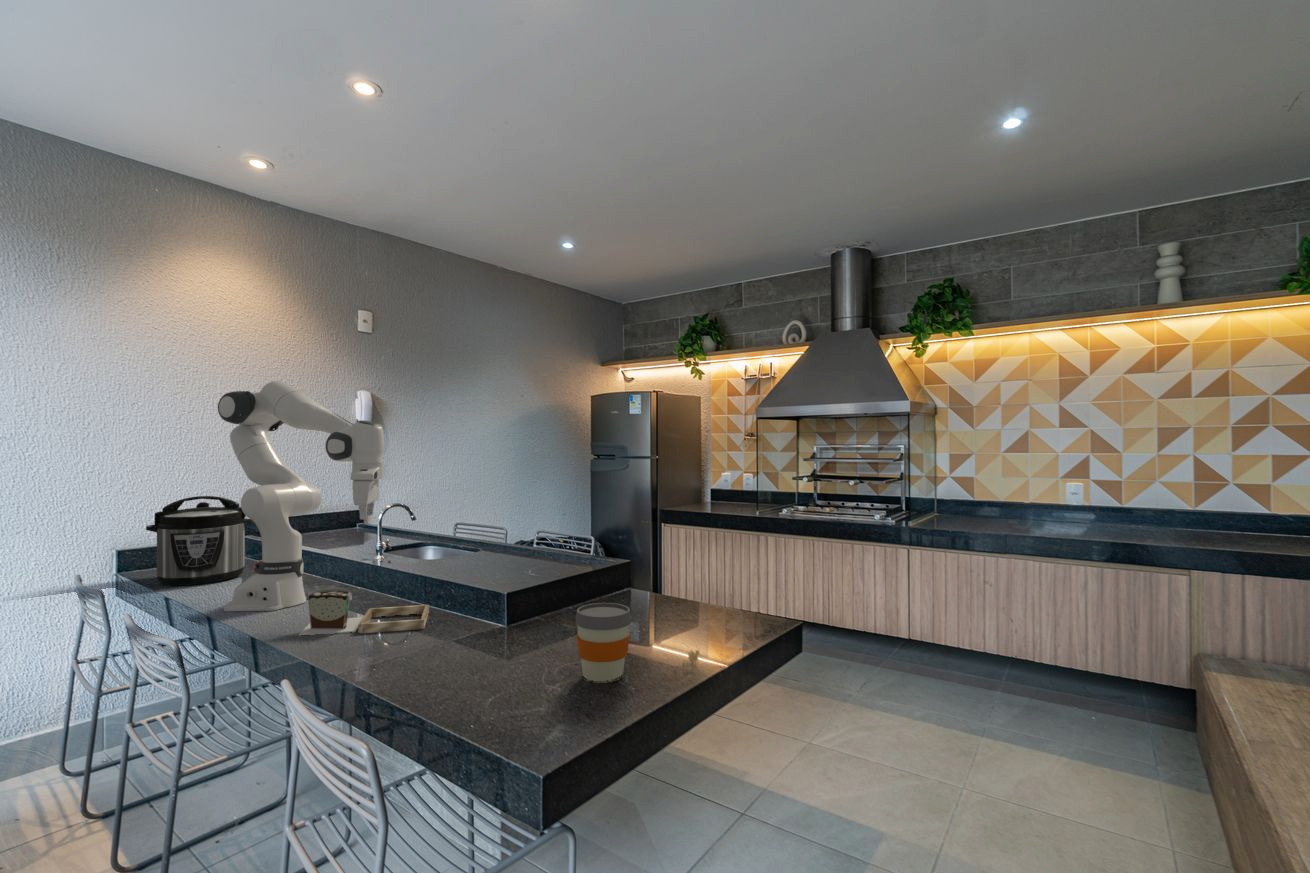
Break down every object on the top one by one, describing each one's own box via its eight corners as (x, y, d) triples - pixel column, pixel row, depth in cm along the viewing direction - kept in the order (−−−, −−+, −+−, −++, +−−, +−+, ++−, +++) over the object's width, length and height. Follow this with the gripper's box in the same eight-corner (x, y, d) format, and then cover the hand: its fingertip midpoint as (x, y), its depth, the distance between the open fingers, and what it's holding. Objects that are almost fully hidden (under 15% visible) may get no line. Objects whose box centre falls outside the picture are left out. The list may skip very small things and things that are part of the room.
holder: (358, 633, 167) (358, 624, 167) (369, 616, 183) (369, 608, 183) (424, 628, 171) (424, 620, 171) (429, 612, 188) (429, 604, 188)
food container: (360, 623, 175) (360, 588, 175) (349, 629, 169) (349, 593, 169) (318, 622, 175) (318, 587, 175) (305, 628, 169) (306, 592, 169)
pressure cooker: (129, 588, 217) (130, 499, 217) (188, 571, 245) (189, 493, 245) (214, 588, 217) (216, 499, 218) (263, 571, 246) (264, 493, 246)
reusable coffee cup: (584, 690, 129) (584, 620, 129) (568, 670, 141) (569, 605, 141) (638, 681, 134) (639, 613, 134) (619, 663, 146) (619, 600, 146)
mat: (298, 636, 164) (298, 634, 164) (312, 621, 177) (312, 620, 177) (355, 632, 168) (355, 630, 168) (364, 618, 181) (364, 616, 181)
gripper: (363, 471, 198) (362, 513, 198) (349, 474, 178) (347, 521, 178) (384, 471, 199) (383, 513, 199) (372, 474, 180) (371, 521, 179)
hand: (366, 517), depth 188 cm, fingers open, 8 cm apart
